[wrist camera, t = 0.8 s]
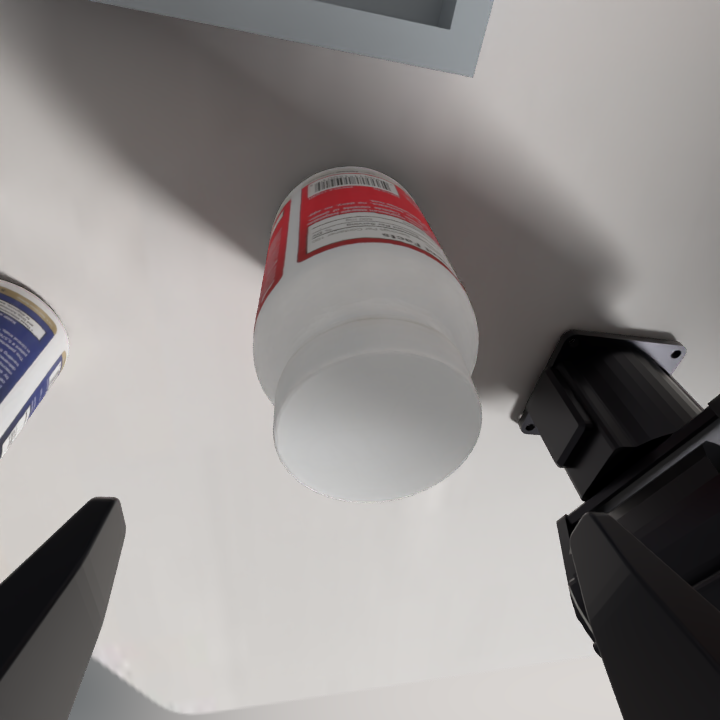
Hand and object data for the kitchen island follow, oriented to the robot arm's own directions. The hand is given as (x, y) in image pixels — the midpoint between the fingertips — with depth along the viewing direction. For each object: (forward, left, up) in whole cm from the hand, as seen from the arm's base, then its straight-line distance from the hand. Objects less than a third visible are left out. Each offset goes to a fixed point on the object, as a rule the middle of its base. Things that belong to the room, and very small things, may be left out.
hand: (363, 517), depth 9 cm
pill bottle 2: (0, 0, -13) cm, 13 cm away
